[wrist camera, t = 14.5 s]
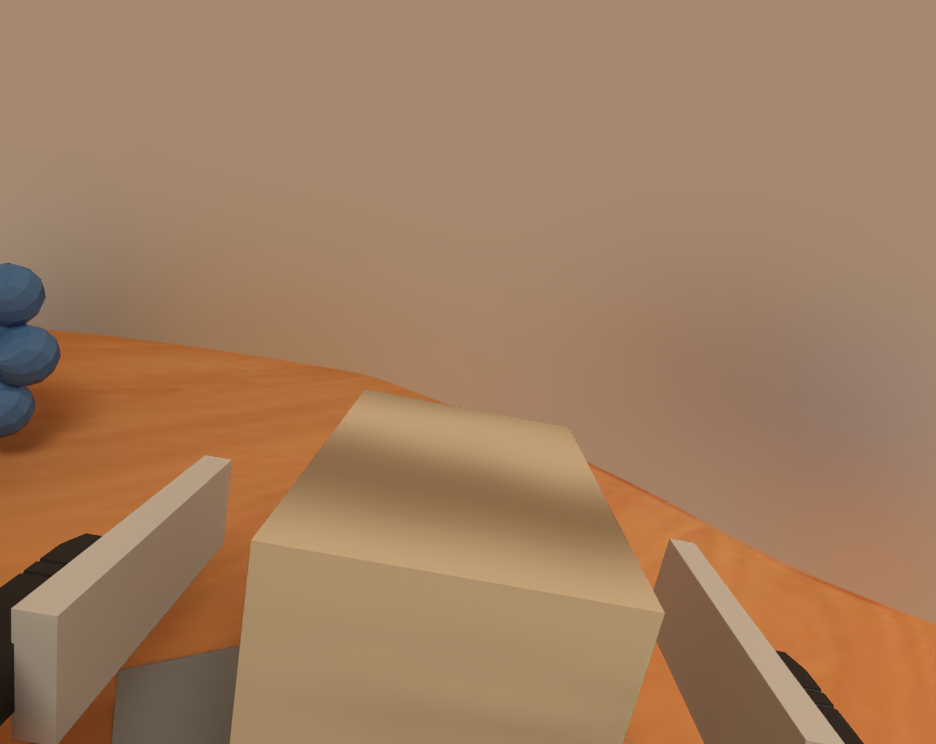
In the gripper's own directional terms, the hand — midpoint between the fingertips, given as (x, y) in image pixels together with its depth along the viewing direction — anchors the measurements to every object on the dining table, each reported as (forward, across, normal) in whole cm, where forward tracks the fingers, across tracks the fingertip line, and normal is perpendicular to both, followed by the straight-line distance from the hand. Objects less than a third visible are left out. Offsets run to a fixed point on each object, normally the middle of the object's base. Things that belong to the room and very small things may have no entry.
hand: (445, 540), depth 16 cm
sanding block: (-3, 0, -6) cm, 7 cm away
